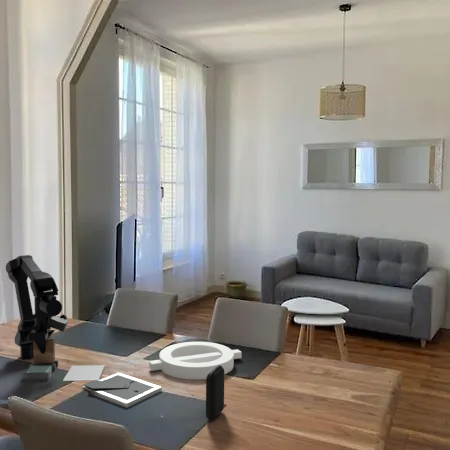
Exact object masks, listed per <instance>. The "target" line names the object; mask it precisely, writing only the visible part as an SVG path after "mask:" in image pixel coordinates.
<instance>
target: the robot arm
mask: <svg viewBox="0 0 450 450" xmlns="http://www.w3.org/2000/svg"><path fill="white" fill-rule="evenodd" d="M5 264H6V265H5V271H6V273H7V275H8V278H9V279H10V281H12V283H13V284H14V289H15V294H16V300H17V306H18V312H19V318H20V320H19V323H18V325H17V332H16V333H15V336H14V343H15V345H17V346H18V347H20V349H19V350H20V358H21V360H30V359H32V358H33V359H34V353H33V341H35V343H36V345H37V346H38V348H39V350H40V352H41V354H44V353H45V349H46V342H47V339H48V338H49V337H52V335H53V334H54V333H55V331H57V330H58V331H59V332H64V331H65V330H66V329H67V326H68V323H69V319H68V316H67V314H65V313H62V314H61V315H60V313H61V312H62V310H63V304H62V303H61V301H60V300H58V299H57V296H59V292H58V291H59V289H58V286H57V283H56V281H55V279H54V278H53V276H52V275H51V274H50V273H49V272H45V271H42V270H41V268H40V267H39V266H38V264H37V263H36V262H35V261H34V258H33V255H30V254H25V255H19V256H17V257H16V258H14V259H13V258H12V259H11V260H9V261H8V262H7V263H5ZM28 279H29V280H30V282H29V283H28ZM28 284H29V285H28ZM29 287H30V290H31V292H32V295H33V297H34V300H33V301H34V302H33V303H34V312H33V307H32V301H31V296H30V290H29Z"/></svg>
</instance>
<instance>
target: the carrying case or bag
mask: <svg viewBox="0 0 450 450" xmlns="http://www.w3.org/2000/svg"><path fill="white" fill-rule="evenodd" d="M205 380H206V382H205V416H206V419H207V420H208V421H209V422H213V421H214V420H216V418H217V417H219V415H220V414H221V412H222V411H223V410H224V407H225V374H224V369H223V367H222V366H221V365H218V366H217V367H215V368H214V369H213V370H212V371H211V372H210V373H209V374H208V375H207V378H206V379H205Z"/></svg>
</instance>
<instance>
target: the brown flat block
mask: <svg viewBox="0 0 450 450" xmlns="http://www.w3.org/2000/svg"><path fill="white" fill-rule="evenodd" d="M55 339H56V338H55V336H50V337H49V338H48V339H47V342H46V349H45V353H44V354H41V352H40V350H39V348H38V346H37V345H36V343H35V341H33V353H34V357H33V361H34V363H54V362H55V360H56V347H55V346H56V344H55Z"/></svg>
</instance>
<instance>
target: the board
mask: <svg viewBox="0 0 450 450" xmlns="http://www.w3.org/2000/svg"><path fill="white" fill-rule="evenodd" d="M105 368H106V365H105V364H104V365H103V364H102V365H101V364H100V365H99V364H98V365H95V364H93V365H88V364H87V365H71V366H70V368H69V369H68V372H67V373H66V375H65V376H64V378H63V380H62V381H63V382H65V381H66V382H68V381H69V382H72V381H73V382H77V381H78V382H79V381H80V382H81V381H94V380H96V381H98V380H101V379H102V376H103V374H104V371H105Z"/></svg>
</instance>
